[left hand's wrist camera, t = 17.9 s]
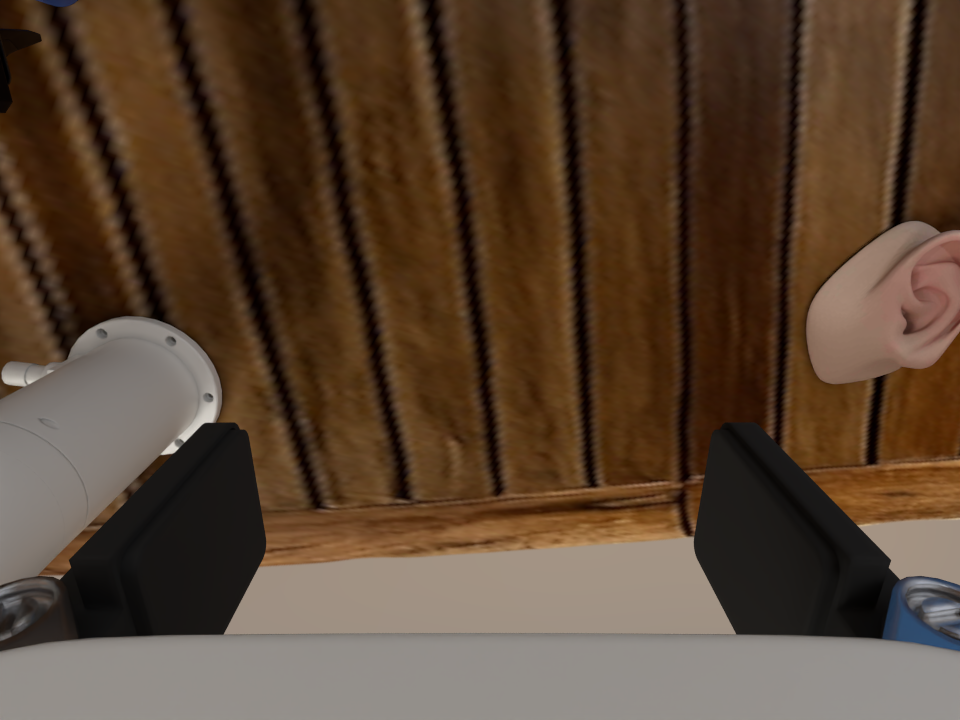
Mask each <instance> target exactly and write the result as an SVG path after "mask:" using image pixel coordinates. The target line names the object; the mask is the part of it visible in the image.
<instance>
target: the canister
mask: <svg viewBox="0 0 960 720" xmlns="http://www.w3.org/2000/svg"><path fill="white" fill-rule="evenodd" d="M37 1H40V2H43V3H46V4H50V5H53V6H58V7H65V6H69V5H72V4H74V3H75V2H76V1H78V0H37Z"/></svg>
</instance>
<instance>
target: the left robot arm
mask: <svg viewBox="0 0 960 720" xmlns="http://www.w3.org/2000/svg"><path fill="white" fill-rule="evenodd" d="M2 380H3V381H4V383H6V384H8V385H15V386H24V387H23V388H21V389H19V390H18V391H16V392H14V393H12V394H10V395H8V396H6V397H5V398H3V399H1V400H0V720H960V585H957V584H954V583H951V582H948V581H944V580H941V579H938V578H931V577H924V576H915V577H906V578H904V579H901V580H900V579H899V578H898V577H897V576H896V575H895V574H894V573H893V572H892V571H891V570H890V569H889V565H890V562H891V560H890V559H889V558H888V557H887V556H886V555H885V553H884V552H883V551H882V550H881V549H880V548H879V547H878V546H877V545H876V544H875V543H874V542H873V541H872V540H871V539H870V538H869V537H868V536H867V535H866V534H865V533H864V532H863V531H862V530H861V529H860V528H859V527H858V526H857V525H856V524H855V523H854V522H853V521H852V520H851V519H850V518H849V517H848V516H847V515H846V514H845V513H844V512H843V511H842V510H841V509H840V508H839V507H838V506H837V505H836V504H835V503H834V502H833V501H832V500H831V499H830V498H829V496H828V495H827V494H826V493H825V492H824V491H823V490H822V489H821V488H820V487H819V486H818V485H817V484H816V483H815V482H814V481H813V480H812V479H811V478H810V477H809V476H808V475H807V474H806V473H805V472H804V471H803V470H802V469H801V468H800V467H799V466H798V465H797V464H796V463H795V462H794V461H793V460H792V459H791V458H790V457H789V456H788V455H787V454H786V453H785V452H784V451H783V450H782V449H781V448H780V447H779V446H778V445H777V444H776V443H775V442H774V441H773V440H772V439H771V437H770V436H769V435H768V434H767V433H766V432H765V431H764V430H763V429H762V428H761V427H760V426H759V425H758V424H756V423H724V424H723V425H722V427H721V429H720V430H715V431H714V432H713V433H712V437H711V442H710V448H709V453H708V459H707V465H706V471H705V477H704V483H703V489H702V495H701V501H700V507H699V512H698V518H697V524H696V530H695V536H694V549H695V554H696V557H697V559H698V561H699V563H700V565H701V567H702V569H703V571H704V573H705V575H706V577H707V579H708V581H709V582H710V584H711V586H712V588H713V590H714V592H715V594H716V596H717V598H718V600H719V602H720V604H721V606H722V607H723V609H724V611H725V613H726V615H727V617H728V619H729V621H730V623H731V625H732V627H733V629H734V630H735V632H736V634H737V635H726V634H725V635H723V634H584V633H367V634H240V635H223V634H224V632H225V630H226V629H227V627H228V625H229V623H230V621H231V619H232V617H233V615H234V613H235V611H236V609H237V607H238V606H239V603H240V602H241V600H242V598H243V596H244V594H245V592H246V590H247V588H248V586H249V584H250V582H251V581H252V579H253V577H254V575H255V573H256V571H257V569H258V567H259V565H260V563H261V561H262V559H263V557H264V554H265V550H266V536H265V530H264V524H263V518H262V512H261V507H260V501H259V495H258V489H257V483H256V477H255V471H254V465H253V459H252V453H251V448H250V442H249V437H248V433H247V432H246V431H245V430H240V429H239V427H238V425H237V424H236V423H216V421H217V419H218V417H219V414H220V410H221V405H222V389H221V384H220V379H219V377H218V374H217V372H216V369H215V367H214V365H213V363H212V362H211V360H210V359H209V357H208V356H207V354H206V353H205V352H204V351H203V350H202V348H201V347H200V346H199V345H198V344H197V343H196V342H195V341H194V340H192V339H191V338H190V337H189V336H187V335H186V334H185V333H183V332H182V331H180V330H178V329H176V328H175V327H173V326H171V325H169V324H166V323H164V322H161V321H158V320H156V319H151V318H146V317H139V316H124V317H118V318H112V319H110V320H107V321H105V322H102V323H100V324H98V325H96V326H94V327H92V328H90V329H88V330H87V331H86V332H85V333H84V334H83V335H81V336H80V337H79V338H78V339H77V341H76V342H75V344H74V345H73V347H72V348H71V351H70V354H69V356H68V359H67V360H65V361H64V362H62V363H60V362H52V363H49V364H48V365H46V366H43V365H38V364H33V363H24V362H14V361H11V362H9V363H7V364H6V365H5V366H4V367H3V370H2ZM172 453H174V454H173V455H172V456H171V457H170V458H169V459H168V460H167V461H166V462H165V463H164V464H163V465H162V466H161V467H160V468H159V469H158V470H157V471H156V472H155V473H154V474H153V475H152V476H151V477H150V478H149V479H148V480H147V481H146V482H145V483H144V484H143V485H142V486H141V487H140V488H139V489H138V490H137V491H136V492H135V493H134V494H133V495H132V496H131V498H130V499H129V500H128V501H127V502H126V503H125V504H124V505H123V506H122V507H121V508H120V509H119V510H118V511H117V512H116V513H115V514H114V515H113V516H112V517H111V518H110V519H109V520H108V521H107V522H106V523H105V524H104V525H103V526H102V527H101V528H100V529H99V530H98V531H97V532H96V533H95V534H94V535H93V536H92V537H91V538H90V539H89V540H88V541H87V542H86V543H85V544H84V545H83V546H82V547H81V548H80V549H79V550H78V551H77V552H76V553H75V554H74V556H73V557H72V558H71V559H70V560H69V562H70V565H71V569H70V570H69V571H68V572H67V573H66V574H65V575H64V576H63V577H62V578H61V579H60V580H59V579H56V578H54V577H45V576H37V575H38V574H39V573H40V572H41V571H42V570H43V569H44V568H45V567H46V566H47V565H48V564H49V563H50V562H51V561H52V560H53V559H54V558H55V557H56V556H57V555H58V554H59V553H60V552H61V551H62V550H63V549H64V548H65V547H66V546H67V545H68V544H69V543H70V542H71V541H72V540H73V539H74V538H75V537H76V536H77V535H78V534H79V533H80V532H82V531H83V530H84V529H85V528H86V527H87V526H88V525H89V524H90V523H91V522H92V521H93V520H94V519H95V518H96V517H97V516H98V515H99V514H100V513H101V512H102V511H103V510H104V509H105V508H106V507H107V506H108V505H109V504H110V503H111V502H112V501H113V500H114V499H115V498H116V497H117V496H118V495H119V494H120V493H121V492H122V491H123V490H124V489H125V488H127V487H128V486H129V485H130V484H131V483H132V482H133V481H134V480H135V479H136V478H137V477H138V476H139V475H140V474H141V473H142V472H143V471H144V470H145V469H146V468H147V467H148V466H149V465H150V464H151V463H152V462H153V461H154V460H155V459H156V458H157V457H158V456H159V455H166V454H172Z"/></svg>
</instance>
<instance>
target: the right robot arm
mask: <svg viewBox="0 0 960 720" xmlns="http://www.w3.org/2000/svg"><path fill="white" fill-rule="evenodd" d="M41 41H42V40H41V36H40V34H38V33H35V32H32V31H29V30H18V29H0V113H6V111H7V110H8V108H9V107H10V105H11V104H12V98H11V94H10V90H9V87H8V85H9V84H10V82H11V74H10V70H9V66H8V62H7V59H6V56H8V55H9V54H10V53H12V52H14V51H17V50H19V49H22V48H25V47H27V46H30V45H33V44H35V43H38V42H41Z"/></svg>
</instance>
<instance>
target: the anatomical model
mask: <svg viewBox="0 0 960 720" xmlns="http://www.w3.org/2000/svg"><path fill="white" fill-rule="evenodd" d="M959 332H960V230H952V231H946V232H943V233H940V232H939V231H937V230H936V229H935V228H933V227H932V226H930V225H928V224H926V223H923V222H920V221H909V222H905V223H902V224H900V225H897V226H895V227H893V228H892V229H890V230H888V231H887V232H885V233H884V234H882V235H881V236H879V237H878V238H876V239H875V240H874V241H872V242H871V243H870V244H868V245H867V246H866V247H865V248H863V249H862V250H861V251H859V252H858V253H857V254H856V255H855V256H854V257H852V258H851V259H850V260H849V261H848V262H847V263H845V264H844V265H843V266H842V267H841V268H840V269H839V270H838V271H837V272H836V273H835V274H833V276H832V277H831V278H830V279H829V280H828V281H827V282H826V283H825V284H824V285H823V286H822V288H821V289H820V290H819V291H818V293H817V294H816V296H815V297H814V299H813V301H812V303H811V305H810V308H809V311H808V316H807V324H806V336H807V345H808V351H809V355H810V359H811V363H812V366H813V368H814V371H815V373H816V374H817V376H818V377H819V378H820V379H821V380H822V381H824V382H827V383H831V384H842V383H850V382H856V381H862V380H867V379H871V378H875V377H878V376H882V375H885V374H888V373H891V372H893V371H895V370H897V369H899V368H901V367H908V368H916V369H921V368H926V367H929V366H931V365H933V364H934V363H935V362H936V361H937V360H938V359H939V358H940V357H941V355H942V354H943V353H944V351H945V350H946V349H947V347H948V346H949V345H950V343H951V342H952V341H953V339H954V338H955V337H956V335H957V334H958V333H959Z"/></svg>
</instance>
